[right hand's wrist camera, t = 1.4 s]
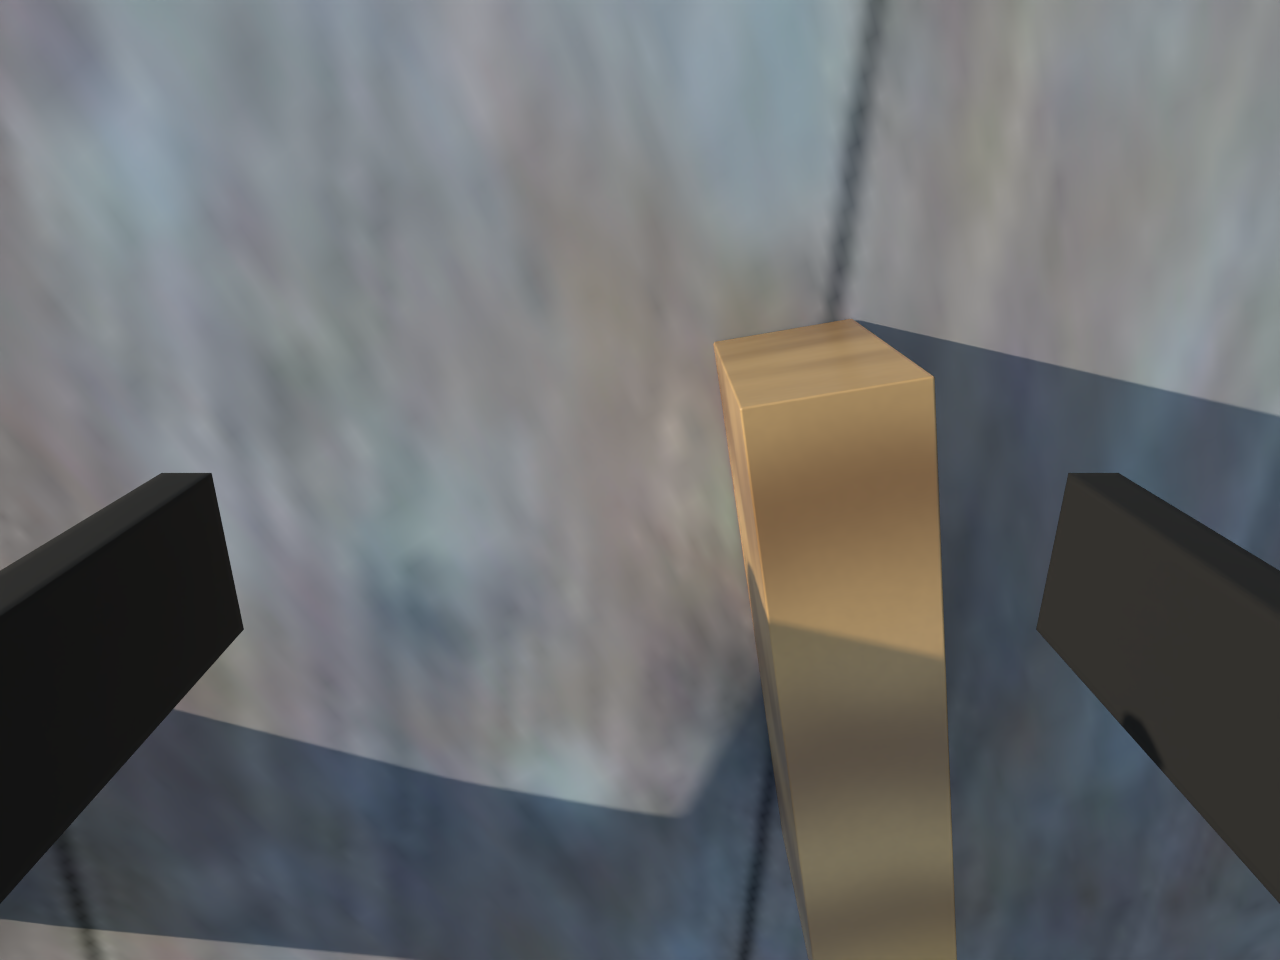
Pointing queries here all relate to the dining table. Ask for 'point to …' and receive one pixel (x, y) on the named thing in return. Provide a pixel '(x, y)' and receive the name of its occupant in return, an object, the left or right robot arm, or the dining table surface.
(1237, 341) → the dining table surface
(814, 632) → the bar
